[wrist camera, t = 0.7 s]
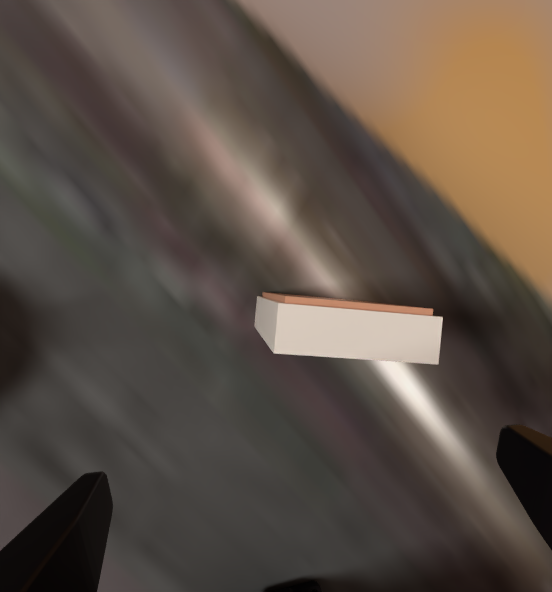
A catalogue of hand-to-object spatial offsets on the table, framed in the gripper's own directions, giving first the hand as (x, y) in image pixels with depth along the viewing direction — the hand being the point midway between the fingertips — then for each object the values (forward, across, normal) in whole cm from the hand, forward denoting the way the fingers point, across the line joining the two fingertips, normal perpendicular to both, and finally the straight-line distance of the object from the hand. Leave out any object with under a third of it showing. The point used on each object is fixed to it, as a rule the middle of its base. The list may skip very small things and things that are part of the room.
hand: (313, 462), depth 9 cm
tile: (+17, -3, +3) cm, 17 cm away
